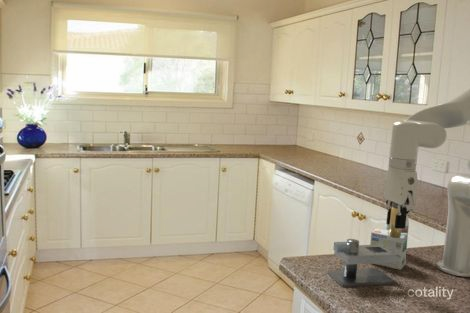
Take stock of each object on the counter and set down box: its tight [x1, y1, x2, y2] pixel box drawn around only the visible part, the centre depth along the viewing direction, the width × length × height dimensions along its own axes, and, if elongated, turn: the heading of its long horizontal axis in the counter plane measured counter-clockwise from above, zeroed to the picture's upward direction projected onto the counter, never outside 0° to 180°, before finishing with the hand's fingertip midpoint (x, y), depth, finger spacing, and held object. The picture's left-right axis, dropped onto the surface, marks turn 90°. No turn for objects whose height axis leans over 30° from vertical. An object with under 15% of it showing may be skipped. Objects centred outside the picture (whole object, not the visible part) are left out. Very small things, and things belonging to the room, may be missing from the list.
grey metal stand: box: [327, 238, 396, 288], centre depth 145 cm, size 18×10×12 cm, turn 104°
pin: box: [388, 202, 404, 238], centre depth 142 cm, size 3×3×10 cm
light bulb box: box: [369, 227, 409, 271], centre depth 160 cm, size 11×7×11 cm, turn 59°
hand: (395, 225), depth 142 cm, fingers closed on pin, 3 cm apart
